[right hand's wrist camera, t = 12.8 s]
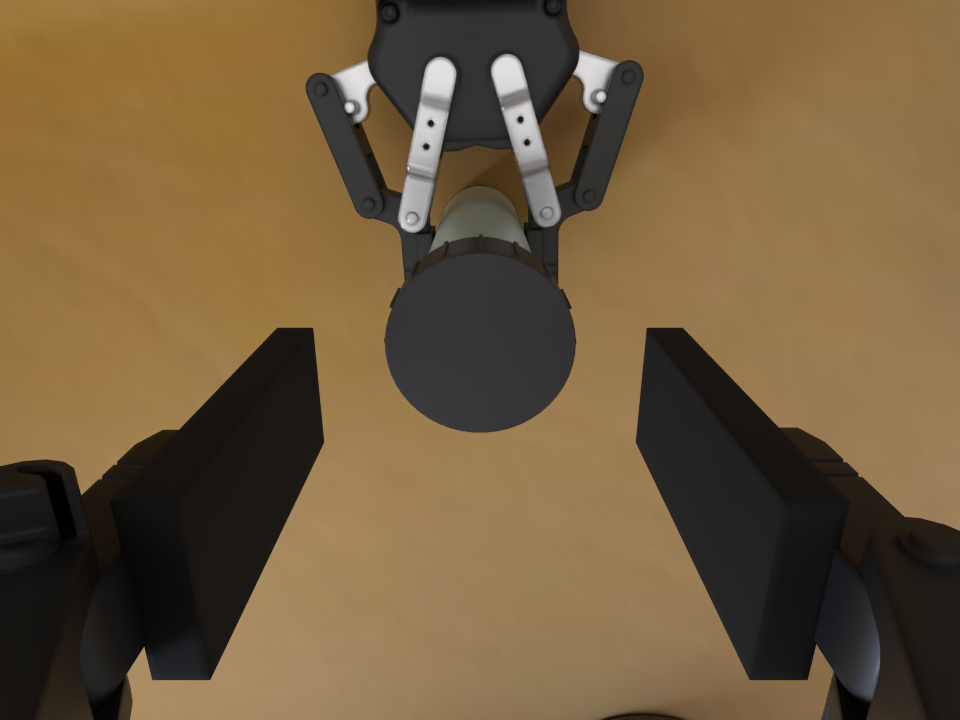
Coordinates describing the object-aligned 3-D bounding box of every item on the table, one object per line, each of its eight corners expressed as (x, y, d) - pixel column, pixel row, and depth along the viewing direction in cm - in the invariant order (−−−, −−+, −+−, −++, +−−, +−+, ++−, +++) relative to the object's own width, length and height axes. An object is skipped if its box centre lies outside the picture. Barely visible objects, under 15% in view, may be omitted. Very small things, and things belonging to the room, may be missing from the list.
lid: (375, 253, 18) (361, 271, 16) (552, 219, 17) (562, 233, 15) (415, 412, 19) (407, 448, 17) (577, 383, 19) (589, 417, 17)
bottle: (435, 193, 34) (384, 281, 16) (511, 179, 34) (546, 249, 16) (450, 268, 36) (420, 424, 18) (523, 254, 35) (569, 399, 17)
